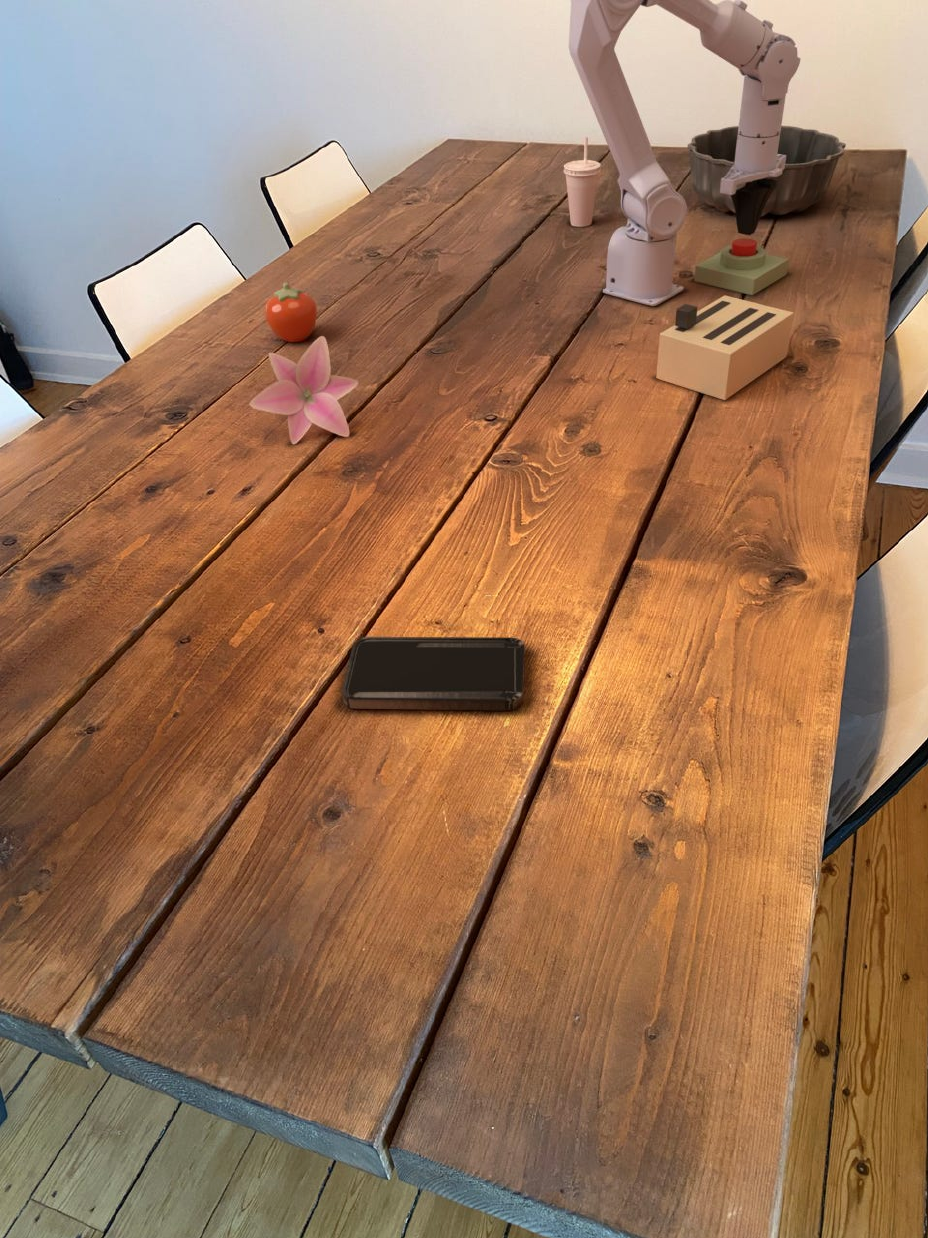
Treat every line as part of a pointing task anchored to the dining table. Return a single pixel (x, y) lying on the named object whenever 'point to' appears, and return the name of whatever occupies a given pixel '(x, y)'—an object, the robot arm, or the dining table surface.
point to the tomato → (291, 314)
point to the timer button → (744, 247)
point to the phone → (435, 673)
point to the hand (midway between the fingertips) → (746, 232)
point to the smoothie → (582, 188)
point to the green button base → (741, 270)
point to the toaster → (724, 347)
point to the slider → (686, 316)
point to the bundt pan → (796, 186)
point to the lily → (307, 392)
